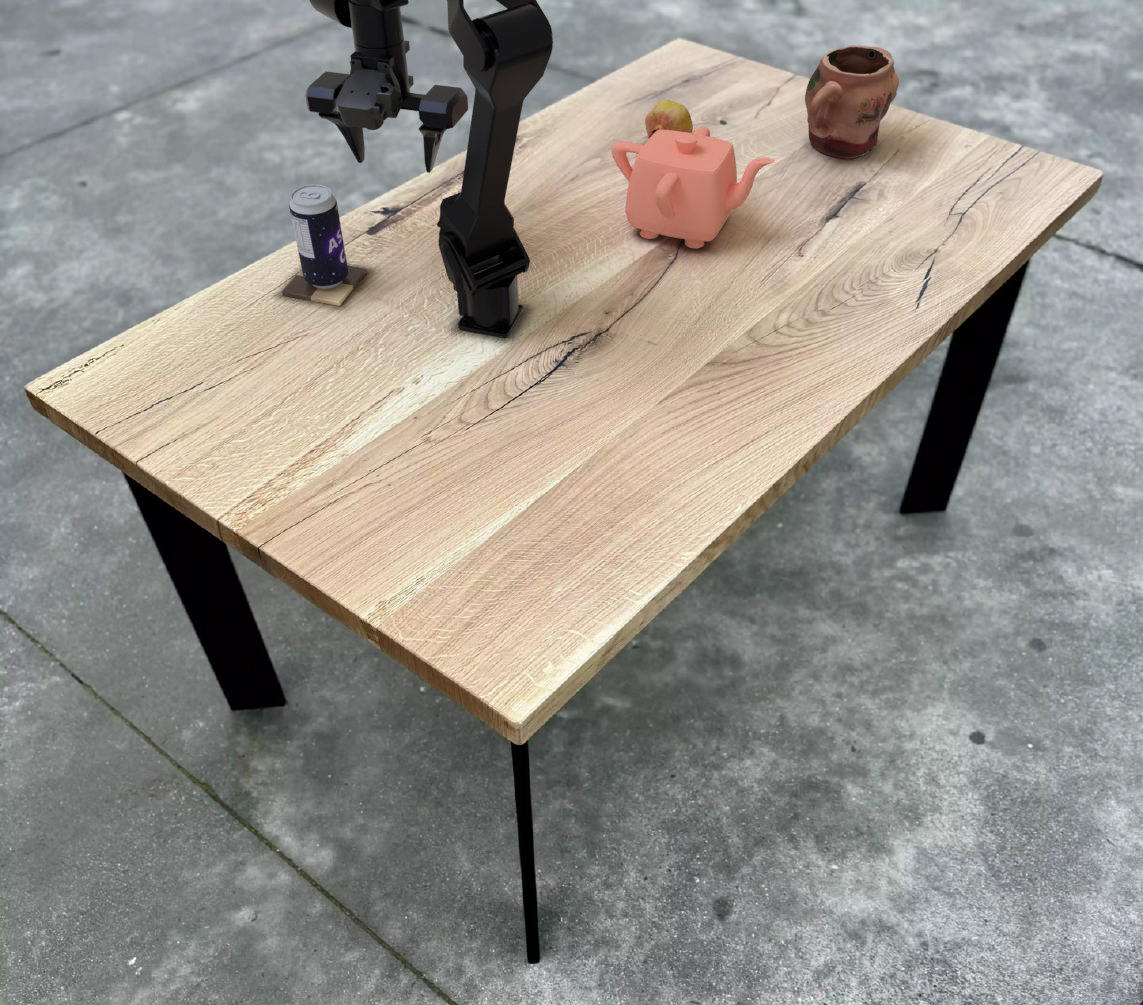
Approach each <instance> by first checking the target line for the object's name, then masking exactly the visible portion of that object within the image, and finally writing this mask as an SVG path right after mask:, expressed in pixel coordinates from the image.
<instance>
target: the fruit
mask: <svg viewBox="0 0 1143 1005" xmlns="http://www.w3.org/2000/svg"><path fill="white" fill-rule="evenodd" d="M644 125H645V130H646V135H647V138H648V140H649V139H650V137H651V136H652V135H653V134H654V133H655V132H656V131H657V130H672V131H680V132H687V133H693V130H694V124H693V120H692V116H691V114H690V112H689V110H688V108H687V107H686V106H685V105H683V104H681V103H680V102H677V101H674V100H671V99H662V100H660V101H658V102H657V103H656V104H655V105H654V107H653V108H652V109H651V110H650V111H648V113H647V114H646V116H645V119H644Z"/></svg>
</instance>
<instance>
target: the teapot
mask: <svg viewBox="0 0 1143 1005" xmlns="http://www.w3.org/2000/svg"><path fill="white" fill-rule="evenodd" d="M710 130H711V129H710V128H708V127H707V126H700V127H698V128H696V129H695V131H694V132H692V133H687V132H680V131H672V130H657V131H656V132H655V133H654V134H653V135H652V136H651V137H650V139H649V138H648V140H646V142H645V143H644V144H641V143H636V142H632V141H624V140H623V141H617V142H615V143H613V145H612V147H611V155H612V159H613V161H614V163H615V164H616V165H615V166H617V168H618V169H619V171H620V172H621V174H622V175H623V176H624V178H625V179H626V181H627V182H628V186H627V192H626V198H625V210H624V211H625V215H626V220H627V222H628V224H629V225H630V226H632V227H633V228H637V229H638V230H640V232H639V235H640V236H641V237H642V238H643V239H648V240H653V239H656V238H658V237H659V236H660V235H661V236H665V237H670V238H675V239H681V240H684V245H685V247H688V248H690V249H700V248H703V247H704V246H705V242H712V241H714V240H715V238H716V237H717V236H718V234H719V232H720V231H721V230H722V228H723V227H724V225H725V224H726V221H727V220H728V218H729V215H730V214H731V212H732V211H734V210H737V209H739V207H741V206H742V205H743V204H744V203H745V202H746V201H747V199H748V197H749V195H750V193H751V191H752V188H753V185H754V182H755V179H756V176H757V174H758V173H759V172H760V171H761V169H763V168H764V167H766V166H768V165H770V164H773V163H775V162H776V160H775V159H773V158H770V157H760V158H759V157H758V158H754V159H751V161H750V162H748V164H747V165H746V167H745V169H744V171H743V173H742V177H741V179H740V181H738V171H737V170H738V169H737V160H736V153H735V148H734V144H733V143H732V142H730V141H728V140H724V139H721V138H716V137H712V136H711V131H710ZM627 153H633V154H636V158H635V160H634V164H633V167H632V165H631V163H630V161H629V159H628V155H627Z"/></svg>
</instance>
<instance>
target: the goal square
mask: <svg viewBox="0 0 1143 1005" xmlns="http://www.w3.org/2000/svg"><path fill="white" fill-rule="evenodd" d="M347 266H348V275H347V277H346V278H345V279H344V280H343V281H342V283H341V284H339V285H338V286H336V287H333V288H328V289H321V288H317V287H314V286H313V285H312V284H310V283H308V282H307V281H305V279H304V277H303V272H302V268H301V269H300V270H299V271H298V272H297V273H296V275H295V276H294V277H293V278H292V279H291V281H290V282H288V284H287V285H286V286H285V287H284V288H283V290H282V291H281V294H282V296H284V297H289V298H295V299H299V300H306V301H311V302H315V303H322V304H327V305H331V306H337V307H341V306H342V304H343V303H344V302H345V300H346V299H347V298H348V297H349V296H350V294H351V293H352V292H353V291H354V289H355V288H356V287H357V286H358V284H359V283H360V282H361V280H362V279H363V278H364V277H365V275H366V274H367V273H368V272H367V271H368V270H367V268H364V267H359V266H354V265H348V264H347Z"/></svg>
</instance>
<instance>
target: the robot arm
mask: <svg viewBox="0 0 1143 1005" xmlns="http://www.w3.org/2000/svg"><path fill="white" fill-rule="evenodd" d="M308 1H309V3H310V4H311V6H312V8H313V9H314V10H315V11H316V12H318V13H320V14H321V15H323V16H325V17H327V18H329V19H331V20H333V21H334V22H336V23H338V24H339V25H341V26H343V27H345V28H349V29H351V32H352V38H353V46H354V52H352V53H351V54H350V56H349V58H350V61H349V65H350V71H349V72H350V73H343V72H334V71H324V72H323V73H322V74H321V75H319V76H318V78H316V79H315V80H313V82H312V83H311V84H310V85H308V86H307V88H306V91H305V96H304V97H305V102H306V107H307V110H308V111H309V112H310V113H317V114H318V116H319V118H320V119H325V120H327V121H329V122H330V123H332V124H334V125H335V126H336V128H337V129H338V130H339V132H340V134H341V135H342V136H343V138H344V140H345V142H346V143H347V145H348V148H349V149H350V151H351V152H352V154H353V156H354V158H355V160H356V161H357V163H358V164H362V163H363V162H364V161H365V159H366V157H365V156H366V155H365V154H366V151H365V148H366V146H365V136H364V129H367V130H368V131H377V130H379V129H380V128H382V126H383V125H384V122H385V121H386V120H387V119H389V118H390V119H397V118H398V116H399V113H400V111H401V110H406V111H412V112H418V118H419V121H420V122H421V123H422V124H421V125H420V126H419V127H418V132H420V133H421V135H422V140H423V156H424V158H423V159H424V165H425V166H424V167H425V171H426V173H429V174H430V173H431V172H432V171H433V169H434V166H435V162H436V159H437V156H438V153H439V149H440V147H441V143H442V139H443V136H444V134H445V132H446V131H447V130H450V129H454V128H455V126H456V125H457V124H458V123H459V122H460V120H461V119H462V118H463V117H464V115H466V113H467V112H468V111H469V100H468V98H469V97H468V95H467V94H466V91H464V89H463V88H462V87H458V86H451V85H443V84H434V85H433V86H432V87H431V88H430V89H429V90H428V91H427V93H426V94H424V93H415V92H411V88H412V87H413V86H414V84H415V82H414V75H409V71H408V70H409V69H408V63H407V53H409V51H410V50H411V47H410V40H405V36H404V28H403V27H404V26H403V21H402V20H403V19H402V18H403V17H402V9H401V7H404V6H408V5H409V0H308ZM495 1H496V2H497V3H499V4H500V5H502V6H503V7H504V8H506V9H502V10H499V11H496V12H493V13H489V14H487V15H483V16H480V17H477V18H474V19H471V17H470V15H469V13H468V12H467V10H466V8H465V4H464V3H465V2H464V0H446V2H447V3H446V4H447V29H448V33H449V35H450V36H451V38H452V40H453V41H454V43H455V44H456V46H457V48H458V50H459V51H460V53H461V55H462V56H463V58H462V60H463V62H462V63H463V64H462V66H463V69H464V71H465V73H466V74H467V77H468V78H469V80H470V81H471V84H472V86H474V99H473V105H472V113H471V118H470V119H471V120H470V127H469V133H468V141H467V146H466V147H467V148H466V154H465V156H466V157H465V161H464V168H463V174H462V175H463V177H462V183H461V190H460V192H457V193H455V194H452V195H450V196H447V197H444V198H442V200H441V202H440V204H439V219H438V220H437V221H438V222H437V223H436V226H437V228H439V232H438V244H437V245H438V248H439V251H440V255H441V259H442V263H443V266H444V269H445V273H446V276H447V279H448V281H449V282H451V283H452V286H453V290H454V291H455V292H456V298H457V310H458V315H459V317H461V318H460V319H459V321H458V322H457V328H458V329H459V330H464V331H470V332H475V333H480V334H485V335H490V336H495V337H501V338H507V337H509V335H510V334H511V332H512V330H513V328H514V327H515V325H516V324H517V322H518V320H519V319H520V317H521V315H522V313H523V312H524V305H523V304H520V303H519V287H518V276H519V275H521V274H525V273H527V272H528V271H529V269H530V268H529V267H530V264H531V258H530V256H529V254H528V253H527V251H526V249H525V246H524V244H523V243H522V241H521V238H520V237H519V235H518V233H517V231H516V228H515V218H514V216H513V214H512V212H511V211H510V209H509V208H508V207H507V205H506V196H507V190H508V184H509V180H510V174H511V169H512V163H513V158H514V153H515V148H516V142H517V136H518V131H519V125H520V121H521V115H522V110H523V105H524V101H525V99H526V98H527V96H528V95H529V94H530V93H531V91H532V90H533V89H534V88H535V87H536V86H537V84H538V83H539V82H540V81H541V79H542V78H543V77H544V74H545V72H546V69H547V67H548V64H549V61H550V58H551V56H552V52H553V48H554V35H553V29H552V26H551V23H550V21H549V19H548V17H547V16H546V14H545V13H544V10H543V9H542V7H541V6H540V4H539V2H538V1H537V0H495Z"/></svg>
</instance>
